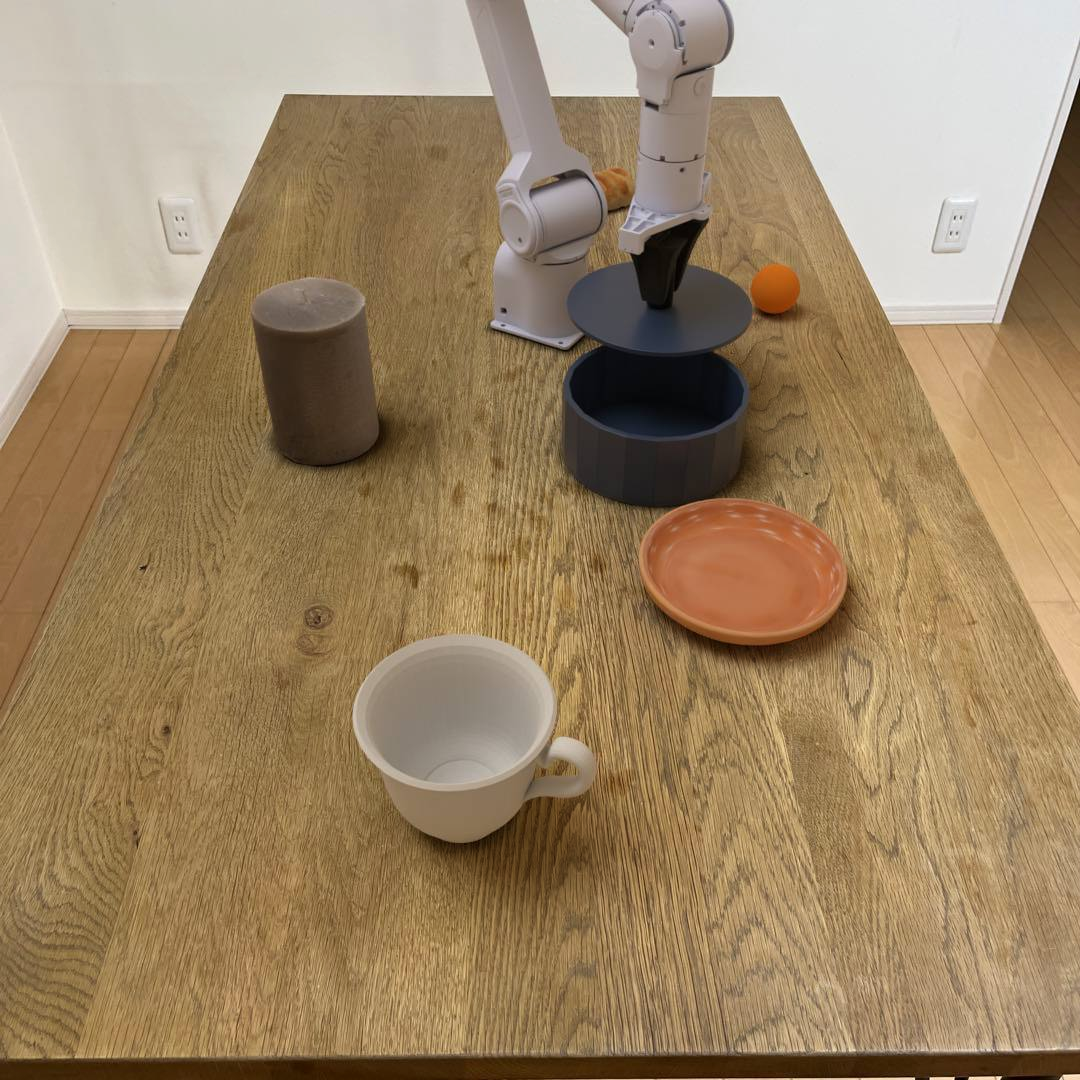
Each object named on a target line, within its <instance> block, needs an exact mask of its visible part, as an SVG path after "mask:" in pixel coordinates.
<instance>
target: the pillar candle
mask: <svg viewBox="0 0 1080 1080" xmlns="http://www.w3.org/2000/svg"><path fill="white" fill-rule="evenodd" d="M366 301H367V300H366V297H365V296H364V294H362V293H361V291H360V290H359V288H358V287H354V285H352V284H350V283H347V282H343V281H341V280H338V279H337V280H336V279H333V278H320V277H315V276H313V277H311V276H307V277H302V278H300V279H293V280H288V281H284V282H281V283H278V284H275V285H273V286H270V287H269V288H267V289H264V290H263V291H260V293H259V294H258V295H257V296H256V297H255V298H254V300H253V302H252V303H251V308H250V314H251V320H252V327H253V332H254V338H255V343H256V348H257V354H258V359H259V365H260V370H261V376H262V381H263V387H264V392H265V396H266V400H267V407H268V411H269V415H270V420H271V423H272V429H273V434H274V442H275V443H274V444H275V447H276V448H277V450H278V451H279V453H280V454H281V455H283V456H284V457H285V458H287V459H288V460H291V461H293V462H295V463H298V464H302V465H309V466H311V465H312V466H327V465H328V466H329V465H336V464H341V463H344V462H349V461H352V460H355V459H356V458H358V457H359V456H362V455H364V454H365V453H366V452H368V451H369V450H370V449H371V448H372V447H373V446H374V445H375V443H376V442H377V439H378V437H379V433H380V425H379V418H378V408H377V400H376V399H377V398H376V390H375V383H374V374H373V373H374V372H373V364H372V357H371V348H370V339H369V331H368V324H367V315H366V314H367V313H366Z"/></svg>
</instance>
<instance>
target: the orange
mask: <svg viewBox="0 0 1080 1080" xmlns="http://www.w3.org/2000/svg"><path fill="white" fill-rule="evenodd" d="M800 293H801V283H800V279H799V277H798V275H797V273H796V272H795V271H794V270H793V269H792V268H790V267H789V266H787V265H784V264H780V263H774V264H769V265H766V266H763V267H762V268H761V269H759V270H758V271H757V273H756V274H755V275H754V277H753V279H752V281H751V284H750V296H751V298H752V302H753V303H754V304H755V306H756V307H757V308H758V309H759V310H761V311H762V312H764V313H767V314H773V315H776V314H782V313H784V312H786V311H788V310H790V309H791V308H792V307H793V306H794V305H795V304H796V302H797V301H798V299H799V296H800Z"/></svg>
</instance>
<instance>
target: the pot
mask: <svg viewBox="0 0 1080 1080" xmlns="http://www.w3.org/2000/svg"><path fill="white" fill-rule="evenodd" d="M561 387H562V389H561V390H562V391H561V393H562V394H561V395H562V396H561V441H560V443H561V449H562V450H561V451H562V458H563V461H564V463H565V465H566V467H567V469H568V471H569V472H570V474H571V475H572V476H573V477H574V478H575V479H576V480H577V481H578V482H579V483H580V484H582V485H583V486H584V487H586V488H588V489H589V490H591V491H592V492H594V493H596V494H598V495H600V496H602V497H605V498H607V499H610V500H613V501H616V502H619V503H624V504H628V505H633V506H641V507H652V508H653V507H654V508H656V507H657V508H660V507H661V508H662V507H663V508H665V507H675V506H684V505H687V504H690V503H694V502H698V501H703V500H705V499H706V498H709V497H711V496H713V495H715V494H716V493H718V492H720V491H721V490H723V489H724V488H725V487H727V486H728V485H729V484H730V483H731V481H732V480H733V479H734V478H735V476H736V475H737V473H738V470H739V468H740V465H741V458H742V453H743V445H744V438H745V431H746V427H747V426H746V425H747V418H748V411H749V404H750V397H751V388H750V385H749V383H748V381H747V378H746V376H745V374H744V373H743V371H741V370H740V369H739V368H738V367H737V366H736V365H735V363H733V362H732V361H731V360H730V359H728V358H726V357H725V356H722V355H721V354H718V353H717V352H714V351H710V352H706V353H703V354H697V355H691V356H681V357H654V356H645V355H638V354H632V353H627V352H623V351H620V350H616V349H613V348H610V347H607V346H605V345H603V344H601V345H599V346H597V347H595V348H594V349H591V350H589V351H588V352H584V353H583V354H581V355H580V356H579V357H578V358H577V359H576V360H575V361H573V363H572V364H571V365H569V367H568V368H567V371H566V373H565V376H564V378H563V380H562V386H561Z"/></svg>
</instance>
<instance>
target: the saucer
mask: <svg viewBox="0 0 1080 1080" xmlns="http://www.w3.org/2000/svg"><path fill="white" fill-rule="evenodd" d="M638 568H639V575H640V578H641V581H642V584H643V586H644V589H645V591H646V592H647V594H648V595H649V597H650V599H651V600H652V601H653V603H654V604H655V605H656V606H657V607H658V608H659V609H660V610H661V611H662V612H663V613H664V614H665V615H666V616H668V617H669V618H670V619H672V620H673V621H675V622H676V623H678V624H679V625H681V626H682V627H684V628H686V629H688V630H689V631H691V632H694V633H695V634H698V635H701V636H703V637H705V638H709V639H711V640H716V641H719V642H723V643H728V644H733V645H734V644H735V645H740V646H741V645H742V646H768V645H777V644H781V643H786V642H790V641H793V640H797V639H800V638H802V637H804V636H807V635H810V634H812V633H813V632H815V631H817V630H818V629H820V628H821V627H822V626H824V625H825V624H826V623H827V622H829V621H830V619H831V618H832V617H833V616H834V615H835V613H836V612H837V610H838V609H839V607H840V605H841V603H842V601H843V599H844V597H845V594H846V591H847V586H848V570H847V566H846V562H845V559H844V557H843V554H842V553H841V551H840V550H839V548H838V546H837V545H836V543H835V542H834V541H833V540H832V538H830V537H829V536H828V534H826V533H825V531H823V530H822V529H821V528H820V527H819V526H817V525H816V524H815V523H813V522H812V521H811V520H809V519H807V518H805V517H803V516H802V515H800V514H799V513H795V512H793V511H791V510H789V509H787V508H784V507H782V506H778V505H776V504H772V503H768V502H766V501H765V502H764V501H759V500H754V499H746V498H737V497H736V498H734V497H733V498H732V497H731V498H730V497H723V498H711V499H703V500H699V501H696V502H692V503H688V504H683V505H680V506H679V507H677V508H674V509H672V510H670V511H668V512H667V513H665V514H664V515H662V516H661V517H659V518H658V519H657V520H656V521H655V522H654V523H652V524H651V526H650V527H649V528H648V529H647V530H646V532H645V533H644V535H643V537H642V540H641V542H640V545H639V550H638Z"/></svg>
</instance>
